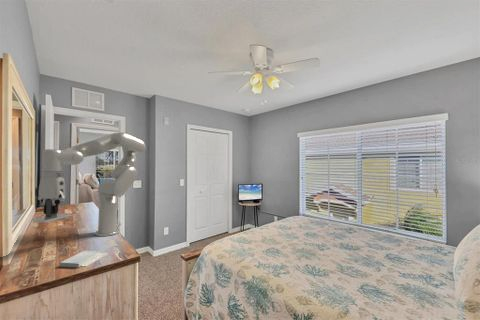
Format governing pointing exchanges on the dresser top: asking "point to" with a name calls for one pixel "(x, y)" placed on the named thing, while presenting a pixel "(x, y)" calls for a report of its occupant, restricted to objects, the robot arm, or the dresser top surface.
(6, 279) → the dresser top surface
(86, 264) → the board
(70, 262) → the hard drive
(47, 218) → the scraper
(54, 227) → the dresser top surface
